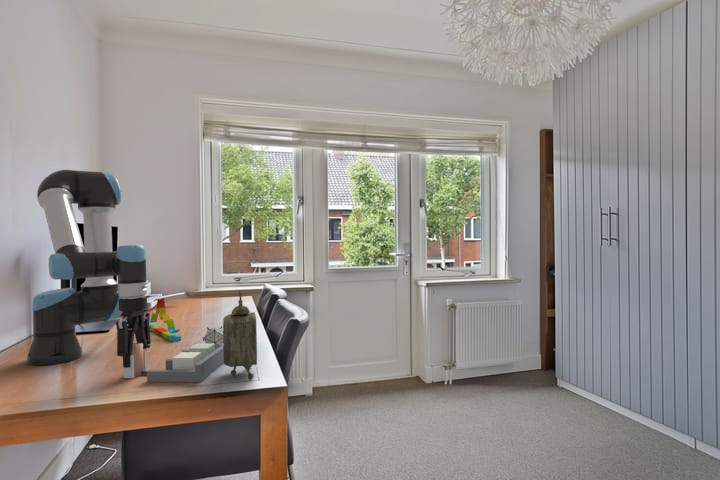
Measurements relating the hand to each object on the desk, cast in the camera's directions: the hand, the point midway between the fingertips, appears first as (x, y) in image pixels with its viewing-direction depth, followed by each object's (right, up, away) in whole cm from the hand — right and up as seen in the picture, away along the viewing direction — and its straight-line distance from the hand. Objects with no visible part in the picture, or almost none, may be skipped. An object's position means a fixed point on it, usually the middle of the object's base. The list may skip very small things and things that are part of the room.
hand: (135, 373), depth 127 cm
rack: (+14, 0, +5) cm, 15 cm away
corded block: (+8, 0, 0) cm, 8 cm away
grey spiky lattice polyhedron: (+14, 0, +28) cm, 31 cm away
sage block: (+16, 0, +10) cm, 19 cm away
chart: (-15, 0, +51) cm, 53 cm away
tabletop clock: (+32, 0, -1) cm, 32 cm away
